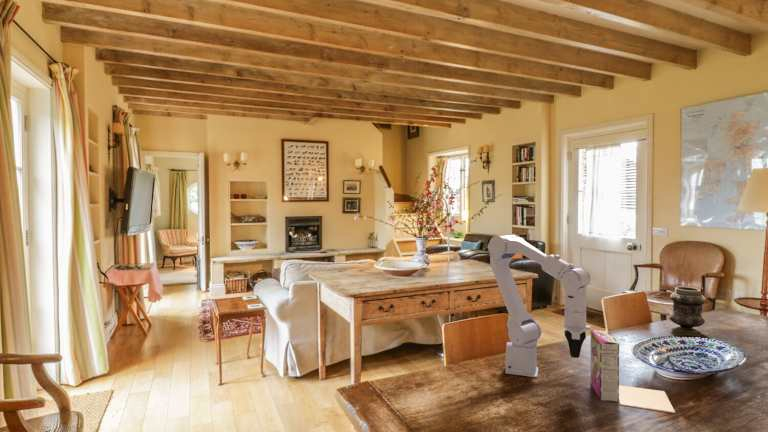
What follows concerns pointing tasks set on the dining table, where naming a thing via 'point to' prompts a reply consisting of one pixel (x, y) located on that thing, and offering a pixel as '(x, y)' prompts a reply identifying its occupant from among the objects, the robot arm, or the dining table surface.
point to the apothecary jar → (687, 310)
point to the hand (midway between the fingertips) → (574, 356)
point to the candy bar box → (605, 365)
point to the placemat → (644, 399)
